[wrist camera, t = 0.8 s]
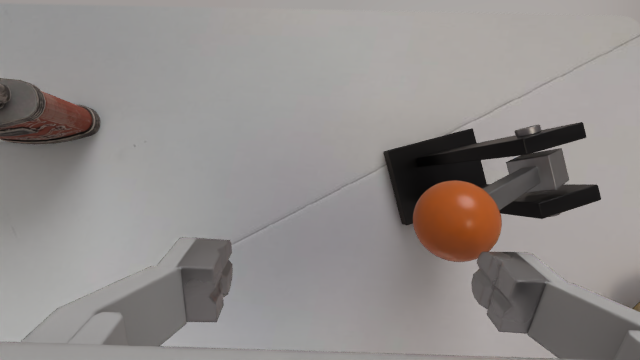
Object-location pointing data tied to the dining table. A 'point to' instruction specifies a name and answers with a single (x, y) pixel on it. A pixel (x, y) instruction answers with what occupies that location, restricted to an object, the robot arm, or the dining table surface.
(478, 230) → the switch
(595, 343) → the robot arm
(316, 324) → the dining table surface
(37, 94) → the lighter
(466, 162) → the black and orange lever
